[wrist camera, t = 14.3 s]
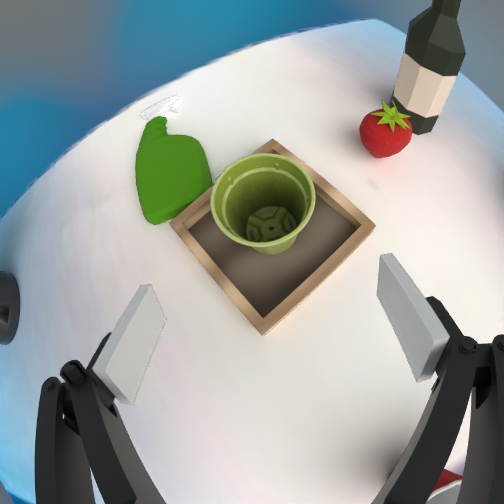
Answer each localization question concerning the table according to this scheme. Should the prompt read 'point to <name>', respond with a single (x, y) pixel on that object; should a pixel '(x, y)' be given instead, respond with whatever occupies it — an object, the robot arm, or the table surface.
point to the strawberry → (385, 131)
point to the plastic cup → (446, 489)
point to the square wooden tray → (279, 265)
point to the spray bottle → (168, 167)
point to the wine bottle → (429, 65)
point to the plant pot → (263, 201)
